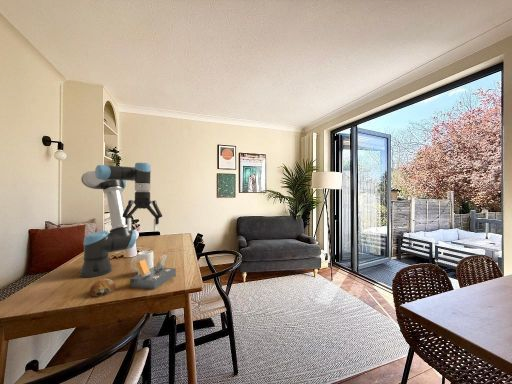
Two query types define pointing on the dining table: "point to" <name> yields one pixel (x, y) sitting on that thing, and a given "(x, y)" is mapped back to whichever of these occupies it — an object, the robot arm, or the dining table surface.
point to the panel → (154, 276)
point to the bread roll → (102, 287)
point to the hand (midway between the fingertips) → (142, 230)
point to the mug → (144, 255)
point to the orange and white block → (143, 268)
